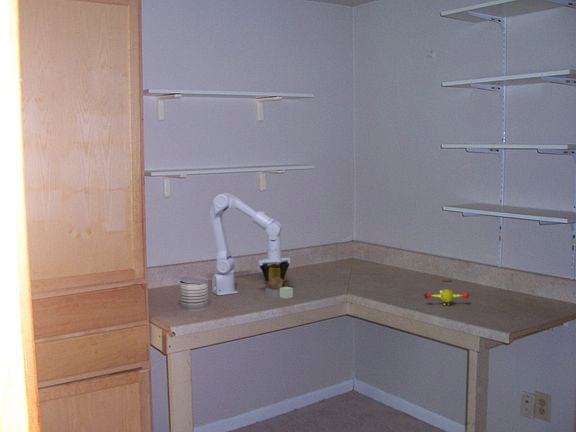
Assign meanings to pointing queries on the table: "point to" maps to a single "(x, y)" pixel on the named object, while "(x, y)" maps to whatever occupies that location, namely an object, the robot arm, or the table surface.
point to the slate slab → (272, 292)
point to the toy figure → (446, 295)
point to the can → (193, 293)
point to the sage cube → (286, 292)
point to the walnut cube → (275, 283)
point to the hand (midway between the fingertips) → (274, 280)
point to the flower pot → (275, 272)
